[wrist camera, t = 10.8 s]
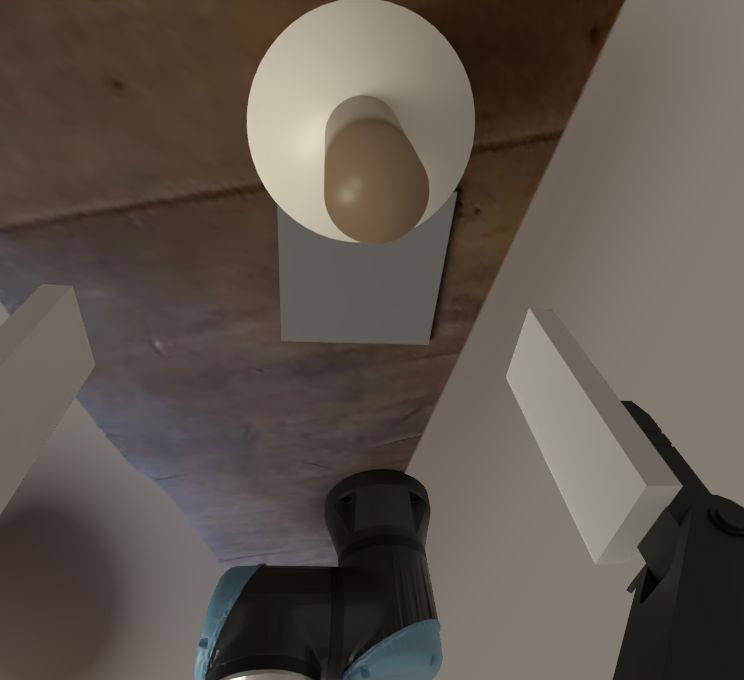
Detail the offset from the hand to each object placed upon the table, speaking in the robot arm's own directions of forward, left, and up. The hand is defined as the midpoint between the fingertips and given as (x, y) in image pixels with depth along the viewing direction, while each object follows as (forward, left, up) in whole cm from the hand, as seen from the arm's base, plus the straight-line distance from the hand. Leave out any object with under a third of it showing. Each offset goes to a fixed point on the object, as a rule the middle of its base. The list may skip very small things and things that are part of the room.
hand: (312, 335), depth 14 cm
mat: (-14, -4, -31) cm, 34 cm away
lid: (+2, -2, -16) cm, 16 cm away
